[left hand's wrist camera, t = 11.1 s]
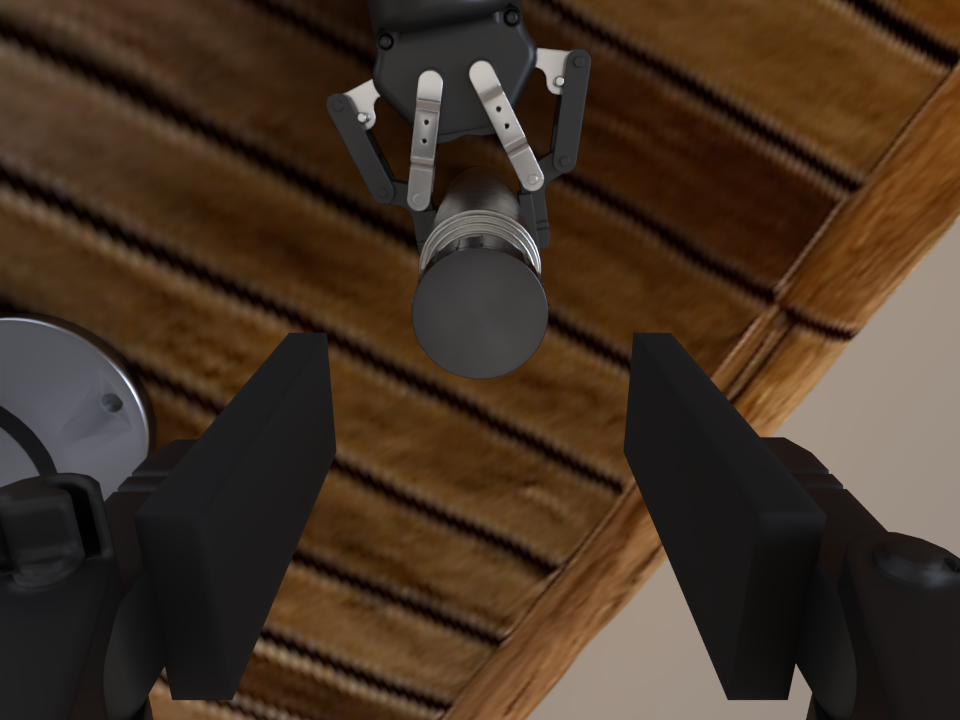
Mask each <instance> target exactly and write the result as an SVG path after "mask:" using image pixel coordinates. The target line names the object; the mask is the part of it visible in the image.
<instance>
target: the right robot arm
mask: <svg viewBox="0 0 960 720" xmlns="http://www.w3.org/2000/svg"><path fill="white" fill-rule="evenodd" d="M367 5H368V10H369V15H370V20H371V25H372V30H373V34H374V39H375V44H376V60H375V64H374V68H373V72H372V79H371V80H369V81H367V82H365V83H363V84H361V85H360V86H358V87H356V88H354V89H352V90H350V91H348V92H346V93H344V94H341V93H335V94H332V95H331V96H330V97H329V98H328V100H327V103H326V107H327V110H328V112H329V114H330V116H331V118H332V120H333V122H334V124H335V126H336V128H337V130H338V132H339V134H340V136H341V138H342V139H343V141H344V143H345V145H346V147H347V149H348V151H349V153H350V155H351V157H352V159H353V161H354V163H355V164H356V166H357V168H358V170H359V172H360V174H361V176H362V178H363V180H364V182H365V184H366V186H367V188H368V190H369V191H370V193H371V195H372V197H373V199H374V200H375V201H376V202H377V203H379V204H391V205H396V206H401V207H404V208H405V209H407V210H408V211H409V213H410V214H411V217H412V221H413V226H414V231H415V235H416V240H417V245H418V250H419V255H421V251H422V248H423V246H424V244H425V241H426V239H427V236H428V234H429V231H430V229H431V227H432V224H433V222H434V219H435V217H436V215H437V212H438V210H439V207H438V205H434V201H433V189H434V181H435V173H436V165H437V159H438V152H439V144H440V143H446V142H451V141H454V140H456V139H458V138H460V137H462V136H464V135H477V136H484V135H490V134H495V133H497V135H498V137H499V139H500V141H501V143H502V145H503V147H504V149H505V151H506V153H507V155H508V157H509V160H510V162H511V164H512V166H513V168H514V170H515V172H516V174H517V176H518V180H519V187H520V190H519V191H517V197H518V202H519V205H520V207H521V210H522V212H523V214H524V217H525V219H526V222H527V224H528V227H529V229H530V231H531V234H532V236H533V239H534V241H535V243H536V246H537V249H538V252H539V255H540V250H539V249H544V248H548V246H549V242H550V232H549V225H548V217H547V210H546V202H545V194H544V193H545V188H546V186H547V184H548V183H549V182H550V181H551V180H553V179H554V178H556V177H558V176H560V175H561V174H563V173H568V172H570V171H572V170H573V169H574V167H575V165H576V160H577V153H578V147H579V140H580V133H581V126H582V120H583V113H584V106H585V99H586V93H587V86H588V79H589V72H590V65H591V58H590V55H589V53H588V52H587V51H586V50H584V49H575V50H572V51H561V50H552V49H544V48H537V45H536V43H535V41H534V39H533V38H532V37H531V35H530V34H529V32H528V30H527V28H526V26H525V24H524V20H523V15H522V7H521V0H367ZM534 69H538V70H540V71H541V72H542V73H543V75H544V77H545V86H546V89H547V90H548V92H550V93H551V94H554V95H557V100H556V107H555V115H554V122H553V130H552V137H551V145H550V152H548V153H546V154H545V155H543V156H541V157H540V158H538V159H535V156H534V154H533V152H532V150H531V148H530V146H529V144H528V141H527V139H526V137H525V135H524V133H523V131H522V128H521V126H520V124H519V122H518V120H517V118H516V116H515V114H514V111H515V109H516V107H517V104H518V102H519V100H520V98H521V96H522V94H523V92H524V90H525V88H526V86H527V83H528V81H529V79H530V77H531V75H532V73H533V71H534ZM381 97H382V98H383V99H384V100H385V101H386V102H387V103H388V104H389V105H390V106H391V107H392V108H393V109H394V110H395V111H396V112H397V113H398V114H399V115H400V116H401V117H402V118H403V119H404V120H405V121H406V122H407V123H408V124H409V125H410V126H411V127H412V128H413V129H414V131H413V140H412V150H411V161H410V163H411V167H410V176H409V182H408V181H403V180H397V179H396V178H395V176H394V174H393V172H392V170H391V168H390V166H389V164H388V162H387V160H386V158H385V156H384V154H383V152H382V150H381V148H380V146H379V144H378V142H377V140H376V138H375V136H374V134H373V132H372V130H371V129H372V128H373V127H375V126H376V124H377V122H378V114H377V111H376V104H377V102H378V100H379V99H380V98H381ZM506 125H507V126H506ZM505 126H506V127H505ZM540 260H541V258H540Z"/></svg>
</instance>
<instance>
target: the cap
mask: <svg viewBox="0 0 960 720" xmlns="http://www.w3.org/2000/svg"><path fill="white" fill-rule="evenodd" d="M418 282H419V283H418V285H417V288H416V291H415V293H414V296H413V299H412V301H411V305H412V324H413V329H414V333H415V335H416V338H417V340H418V342H419V344H420V346H421V348H422V349H423V351H424V352H425V353H426V354H427V356H428V357H429V358H430V359H431V360H432V361H433V362H434V363H436V364H437V365H438V366H440V367H441V368H443V369H444V370H446V371H448V372H450V373H452V374H455V375H458V376H461V377H465V378H471V379H490V378H495V377H499V376H502V375H505V374H508V373H510V372H512V371H514V370H516V369H517V368H519V367H520V366H522V365H523V364H524V363H525V362H527V361H528V360H529V359H530V358H531V357H532V355H533V354H534V353H535V352H536V350H537V349H538V347H539V346H540V344H541V342H542V340H543V338H544V335H545V332H546V328H547V324H548V309H549V305H548V302H547V298H546V295H545V292H544V289H543V285H544V283H543V280H542V277H541V274H540V272H537V271H536V269H535V267H534V265H533V264H532V262H531V261H530V260H529V258H528V255H527V253H523V252H522V251H520V250H519V249H518V248H516V247H515V246H513V245H512V244H510V243H508V242H507V240H504V241H503V240H500V239H497V238H493V237H487V236H483V235H481V236H474V237H467V238H463V239H460V240H459V238H457V239H456V241H454V242H452V243H450V244H448V245H446V246H445V247H444V248H442V249H441V250H439V251H438V250H437V251H436V252H435V255H434V256H433V257H432V258H431V260H430V261H429V262H428V263H427V265H426V267H425V268H424V269H423V268H422V270H421V272H420V275H419V278H418Z"/></svg>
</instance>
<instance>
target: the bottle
mask: <svg viewBox="0 0 960 720" xmlns="http://www.w3.org/2000/svg"><path fill="white" fill-rule="evenodd" d="M481 235H483V236H487V237H493V238H497V239H500V240H503V241H504V240H507V242H508V243H510V244H512V245H513V246H515V247H516V248H518V249H519V250H520V251H522V252H523V253H527V255H528V258H529V260H530V261H531V262H532V264H533V265H534V267H535V269H536V271H537V272H540V274H541V260H540V255H539V252H538V249H537V246H536V243H535V241H534V239H533V236H532V234H531V231H530V229H529V227H528V224H527V222H526V219H525V217H524V214H523V212H522V210H521V207H520V205H519V202H518V200H517V198H516V195H515V193H514V190H513V188H512V186H511V184H510V182H509V181H508V180H507V178H506V177H505V176H504V175H502V174H501V173H500V172H498V171H497V170H495V169H492V168H489V167H484V166H476V167H471V168H468V169H465V170H463V171H462V172H460V173H459V174H457V175H456V176H455V177H454V178H453V180H452V181H451V182H450V184H449V186H448V188H447V190H446V193H445V195H444V198H443V200H442V202H441V205H440V207H439V210H438V212H437V215H436V217H435V219H434V222H433V224H432V227H431V229H430V231H429V234H428V236H427V239H426V241H425V244H424V246H423V248H422V251H421V255H420V260H419V275H420V272H421V270H422V268H423V269H424V268H425V267H426V265H427V263H428V262H429V261H430V260H431V258H432V257H433V256H434V255H435V252H436V251H437V250H438V251H439V250H441V249H442V248H444V247H445V246H446V245H448V244H450V243H452V242H454V241H456V239H457V238H459V240H460V239H463V238H467V237H474V236H481Z"/></svg>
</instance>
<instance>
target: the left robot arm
mask: <svg viewBox="0 0 960 720" xmlns="http://www.w3.org/2000/svg"><path fill="white" fill-rule="evenodd" d="M155 440H156V424H155V417H154V412H153V408H152V404H151V402H150V399H149V396H148V394H147V392H146V390H145V388H144V386H143V384H142V382H141V381H140V379H139V377H138V376H137V374H136V373H135V372H134V370H133V369H132V367H131V366H130V365H129V364H128V363H127V362H126V360H125V359H124V358H123V357H122V356H121V355H120V354H119V353H118V352H117V351H116V350H115V349H113V348H112V347H111V346H110V345H108V344H107V343H106V342H105V341H103V340H102V339H100V338H99V337H97V336H96V335H94V334H93V333H91V332H89V331H87V330H86V329H84V328H81V327H79V326H77V325H75V324H73V323H70V322H67V321H65V320H62V319H58V318H55V317H51V316H46V315H41V314H32V313H11V314H4V315H0V720H153V716H152V709H151V705H150V700H149V696H148V694H149V693H150V691H151V689H152V687H153V685H154V684H155V682H156V680H157V678H158V677H159V675H160V673H161V671H162V670H163V668H164V666H165V668H166V673H167V678H168V682H169V687H170V692H171V696H172V700H232V699H233V697H234V694H235V692H236V690H237V687H238V685H239V682H240V680H241V678H242V675H243V673H244V670H245V668H246V666H247V663H248V661H249V659H250V656H251V654H252V651H253V649H254V647H255V644H256V642H257V640H258V637H259V635H260V632H261V630H262V628H263V625H264V623H265V620H266V618H267V616H268V613H269V611H270V609H271V606H272V604H273V601H274V599H275V597H276V594H277V592H278V589H279V587H280V585H281V582H282V580H283V578H284V575H285V573H286V570H287V568H288V566H289V563H290V561H291V559H292V556H293V554H294V551H295V549H296V547H297V544H298V542H299V539H300V537H301V535H302V532H303V530H304V528H305V525H306V523H307V520H308V518H309V516H310V513H311V511H312V509H313V506H314V504H315V501H316V499H317V497H318V494H319V492H320V489H321V487H322V485H323V482H324V480H325V478H326V475H327V473H328V470H329V468H330V466H331V463H332V461H333V458H334V456H335V454H336V441H335V429H334V417H333V405H332V393H331V382H330V370H329V358H328V346H327V334H326V333H289V334H288V335H287V336H286V337H285V339H284V340H283V341H282V342H281V343H280V344H279V346H278V347H277V348H276V349H275V350H274V351H273V353H272V354H271V355H270V356H269V357H268V358H267V360H266V361H265V362H264V363H263V364H262V365H261V367H260V368H259V369H258V370H257V371H256V372H255V374H254V375H253V376H252V377H251V378H250V379H249V381H248V382H247V383H246V384H245V385H244V387H243V388H242V389H241V390H240V391H239V392H238V394H237V395H236V396H235V397H234V398H233V399H232V401H231V402H230V403H229V404H228V405H227V406H226V408H225V409H224V410H223V411H222V412H221V413H220V415H219V416H218V417H217V418H216V419H215V420H214V422H213V423H212V424H211V425H210V426H209V428H208V429H207V430H206V431H205V432H204V433H203V435H202V436H201V437H200V438H199V439H198V440H175V441H173V442H171V443H170V444H168V445H166V446H164V447H162V448H161V449H159V450H157V451H155V452H153V451H154V446H155ZM624 454H625V456H626V458H627V461H628V463H629V466H630V468H631V470H632V473H633V475H634V478H635V480H636V482H637V485H638V487H639V489H640V492H641V494H642V497H643V499H644V501H645V504H646V506H647V509H648V511H649V513H650V516H651V518H652V520H653V523H654V525H655V528H656V530H657V532H658V535H659V537H660V539H661V542H662V544H663V547H664V549H665V551H666V554H667V556H668V559H669V561H670V563H671V566H672V568H673V570H674V573H675V575H676V578H677V580H678V582H679V585H680V587H681V589H682V592H683V594H684V597H685V599H686V601H687V604H688V606H689V609H690V611H691V613H692V616H693V618H694V620H695V623H696V625H697V628H698V630H699V632H700V635H701V637H702V639H703V642H704V644H705V647H706V649H707V651H708V654H709V656H710V659H711V661H712V663H713V666H714V668H715V670H716V673H717V675H718V678H719V680H720V682H721V685H722V687H723V690H724V692H725V694H726V697H727V699H728V700H788V696H789V692H790V687H791V682H792V677H793V673H794V668H795V664H797V666H798V668H799V670H800V671H801V673H802V675H803V677H804V678H805V680H806V682H807V684H808V685H809V687H810V689H811V691H812V696H811V700H810V705H809V709H808V714H807V718H806V720H960V558H958V557H957V556H955V555H954V554H952V553H951V552H949V551H948V550H946V549H944V548H942V547H939V546H937V545H935V544H933V543H930V542H928V541H926V540H923V539H920V538H916V537H912V536H908V535H904V534H900V533H897V532H888V531H887V530H886V529H885V528H884V527H883V526H882V525H881V524H880V523H879V522H878V521H877V520H876V519H875V518H874V517H873V516H872V515H871V514H870V513H869V512H868V511H867V510H866V509H865V508H864V507H863V506H862V504H861V503H860V502H859V501H858V500H857V499H856V498H855V497H854V496H853V495H852V494H851V493H850V492H849V491H848V490H847V489H843V485H842V484H841V483H840V482H839V481H838V480H837V479H836V478H835V476H834V475H833V474H829V470H828V469H827V468H826V467H825V466H824V465H823V464H822V463H821V462H820V461H819V460H818V459H817V458H816V457H815V456H814V455H813V454H812V453H811V452H809V451H808V450H806V449H804V448H802V447H800V446H799V445H797V444H795V443H793V442H791V441H790V440H788V439H786V438H784V437H759V436H758V435H757V433H756V432H755V431H754V430H753V429H752V428H751V426H750V425H749V424H748V423H747V422H746V420H745V419H744V418H743V417H742V416H741V415H740V413H739V412H738V411H737V410H736V409H735V408H734V406H733V405H732V404H731V403H730V402H729V401H728V399H727V398H726V397H725V396H724V395H723V394H722V392H721V391H720V390H719V389H718V388H717V387H716V385H715V384H714V383H713V382H712V381H711V379H710V378H709V377H708V376H707V375H706V374H705V372H704V371H703V370H702V369H701V368H700V367H699V365H698V364H697V363H696V362H695V361H694V360H693V358H692V357H691V356H690V355H689V354H688V353H687V351H686V350H685V349H684V348H683V347H682V346H681V344H680V343H679V342H678V341H677V340H676V339H675V337H674V336H673V335H672V334H671V333H634V334H633V346H632V358H631V370H630V382H629V393H628V405H627V417H626V429H625V441H624Z"/></svg>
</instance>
